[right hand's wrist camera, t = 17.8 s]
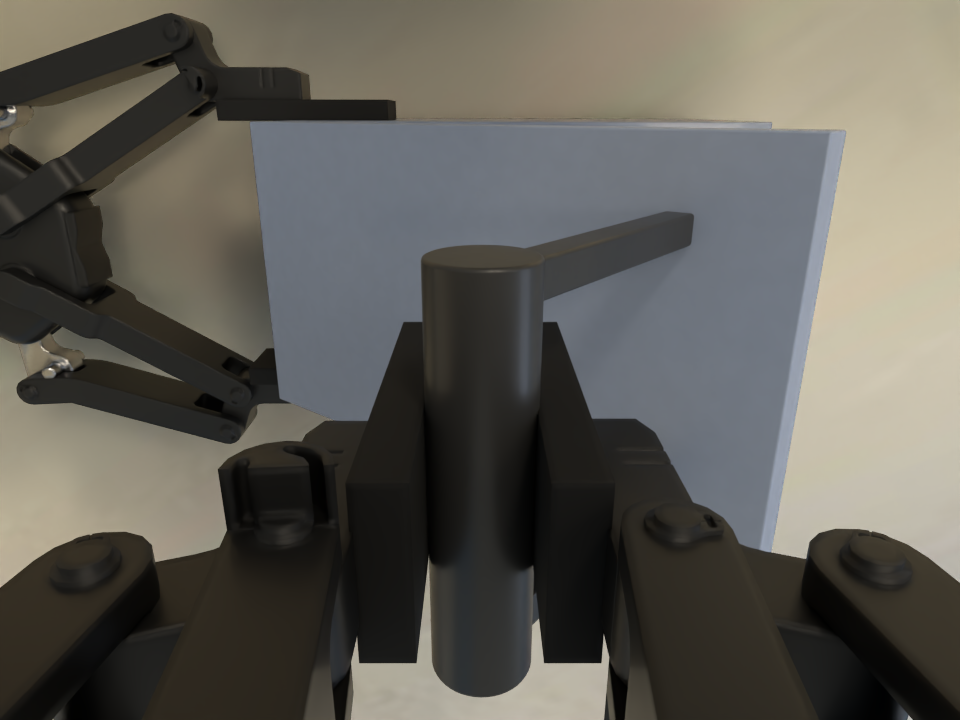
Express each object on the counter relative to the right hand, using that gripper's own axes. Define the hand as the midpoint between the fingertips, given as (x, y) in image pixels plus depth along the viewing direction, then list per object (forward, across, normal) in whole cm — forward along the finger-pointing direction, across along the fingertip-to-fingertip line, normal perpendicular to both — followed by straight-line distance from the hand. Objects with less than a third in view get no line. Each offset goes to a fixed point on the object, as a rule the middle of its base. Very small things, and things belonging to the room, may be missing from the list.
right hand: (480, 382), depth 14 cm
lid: (+6, 0, 0) cm, 6 cm away
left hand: (+15, -4, 0) cm, 16 cm away
